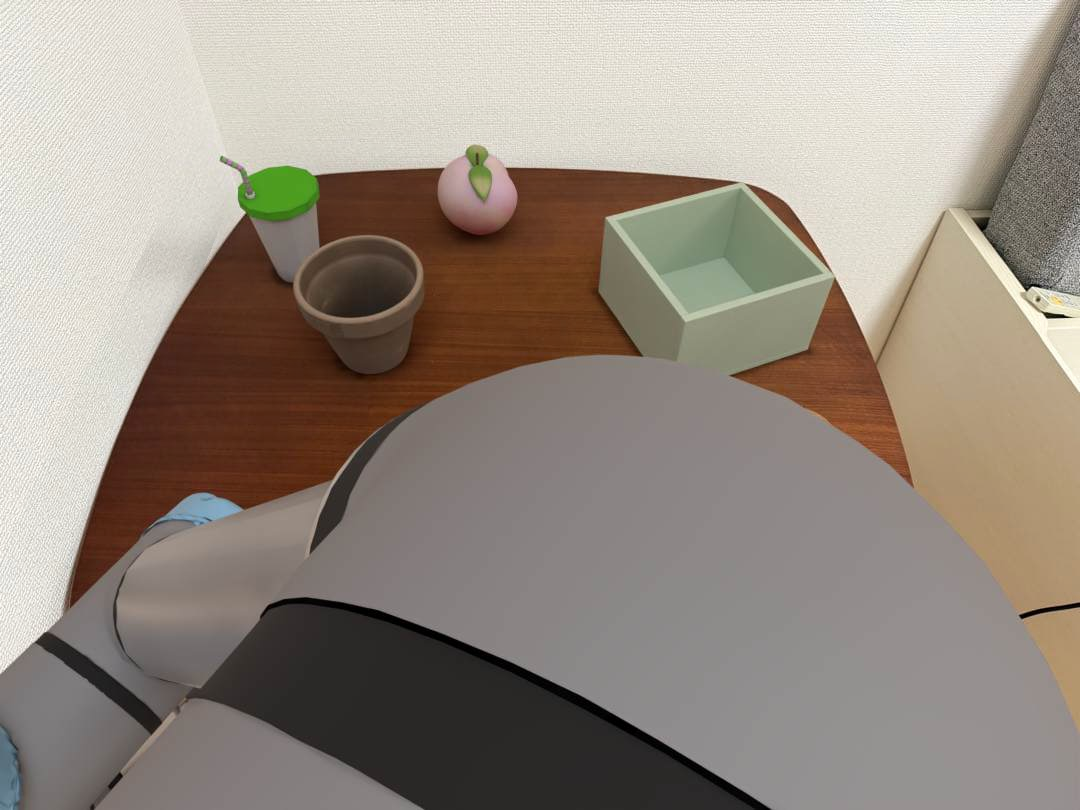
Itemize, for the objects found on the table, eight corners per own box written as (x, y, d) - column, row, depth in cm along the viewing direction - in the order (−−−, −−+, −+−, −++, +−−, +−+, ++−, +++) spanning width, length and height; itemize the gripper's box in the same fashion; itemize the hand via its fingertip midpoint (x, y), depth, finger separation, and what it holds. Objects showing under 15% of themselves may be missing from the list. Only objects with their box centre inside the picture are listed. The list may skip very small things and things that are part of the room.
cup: (345, 249, 90) (318, 126, 79) (326, 297, 85) (295, 173, 74) (275, 243, 91) (239, 120, 79) (252, 291, 86) (210, 167, 74)
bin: (807, 349, 81) (835, 276, 74) (669, 395, 77) (685, 321, 70) (725, 255, 90) (743, 181, 83) (598, 291, 86) (605, 217, 79)
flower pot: (386, 415, 75) (371, 337, 67) (290, 369, 79) (264, 290, 71) (455, 337, 82) (448, 259, 74) (363, 298, 85) (347, 219, 77)
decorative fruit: (433, 212, 95) (425, 135, 87) (501, 200, 96) (499, 123, 89) (452, 264, 89) (445, 186, 81) (524, 250, 90) (524, 172, 83)
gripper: (151, 652, 57) (406, 465, 67) (328, 895, 48) (592, 635, 58) (109, 603, 51) (395, 407, 62) (301, 868, 42) (599, 585, 52)
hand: (490, 518), depth 60 cm, fingers open, 8 cm apart
